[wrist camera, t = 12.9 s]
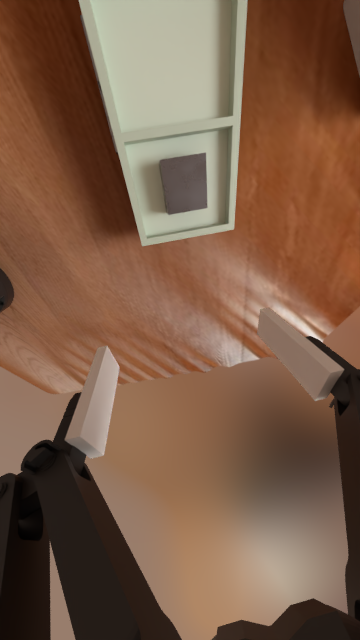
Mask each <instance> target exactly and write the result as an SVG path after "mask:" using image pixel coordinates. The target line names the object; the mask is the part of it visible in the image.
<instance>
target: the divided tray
mask: <svg viewBox="0 0 360 640" xmlns="http://www.w3.org/2000/svg"><path fill="white" fill-rule="evenodd" d="M247 2H248V0H79V4H80V8H81V12H82V15H83V19H84V23H85V27H86V31H87V35H88V39H89V42H90V46H91V50H92V54H93V58H94V62H95V66H96V69H97V73H98V77H99V81H100V85H101V89H102V93H103V96H104V100H105V104H106V108H107V112H108V116H109V120H110V124H111V127H112V131H113V135H114V139H115V143H116V147H117V151H118V154H119V158H120V162H121V166H122V170H123V174H124V178H125V181H126V185H127V189H128V193H129V197H130V201H131V205H132V208H133V212H134V216H135V220H136V224H137V228H138V232H139V235H140V239H141V243H142V246H147V245H152V244H158V243H163V242H168V241H174V240H179V239H185V238H190V237H195V236H201V235H206V234H211V233H217V232H222V231H228V230H233V229H234V221H235V204H236V187H237V171H238V154H239V137H240V120H241V103H242V86H243V69H244V53H245V36H246V19H247ZM205 152H206V169H207V206H208V208H205V209H200V210H194V211H188V212H183V213H177V214H171V215H168V214H167V213H166V208H165V201H164V195H163V188H162V182H161V176H160V169H159V161H160V160H162V159H168V158H174V157H181V156H187V155H193V154H199V153H205Z"/></svg>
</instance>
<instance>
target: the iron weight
mask: <svg viewBox="0 0 360 640" xmlns="http://www.w3.org/2000/svg"><path fill="white" fill-rule="evenodd" d="M159 169H160V176H161V182H162V188H163V195H164V201H165V208H166V213H167V214H168V215H171V214H177V213H183V212H188V211H194V210H200V209H205V208H208V206H207V169H206V152H205V153H199V154H193V155H187V156H181V157H174V158H168V159H162V160H160V161H159Z"/></svg>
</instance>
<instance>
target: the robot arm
mask: <svg viewBox="0 0 360 640" xmlns="http://www.w3.org/2000/svg"><path fill="white" fill-rule="evenodd" d="M13 297H14V291H13V287H12V284H11V282H10V280H9V279H8V277H7V276H6V274H5V273H4V272H3V271H2V270H1V269H0V312H2V311H3V310H5V309H6V308H8V307H9V306H10V304H11V303H12V301H13ZM257 334H258V336H259V337H260V338H261V339H262V340H263V341H264V343H265V344H266V345H267V346H268V347H269V348H270V349H271V351H272V352H273V353H274V354H275V355H276V356H277V358H278V359H279V360H280V361H281V362H282V363H283V364H284V366H285V367H286V368H287V369H288V370H289V371H290V372H291V374H292V375H293V376H294V377H295V378H296V379H297V381H298V382H299V383H300V384H301V385H302V386H303V387H304V389H305V390H306V391H307V392H308V393H309V394H310V396H311V397H312V398H313V399H314V400H315V401H317V400H320V399H324V398H327V397H328V395H329V394H330V392H331V393H332V394H333V395H334V396H335V397H334V399H333V400H332V402H331V404H330V406H329V407H331V408H332V407H333V405H334V409H335V419H336V429H337V439H338V450H339V459H340V470H341V480H342V490H343V501H344V511H345V521H346V531H347V541H348V554H349V556H348V562H347V565H346V572H345V582H346V594H347V606H348V614H346V613H344V612H342V611H340V610H338V609H336V608H333V607H331V606H329V605H325V604H323V603H321V602H320V601H318V600H316V599H310V600H307V601H303V602H300V603H297V604H293V605H290V606H289V607H288V608H287V609H286V611H285V612H284V613H283V614H282V615H281V616H280V617H279V618H278V619H277V620H276V621H275V622H274V623H273V624H272V625H271V626H265V625H261V624H256V623H252V622H248V621H244V620H240V621H236V622H233V623H230V624H226V625H223V626H220V627H218V629H217V635H216V636H215V637H214V638H213V639H212V640H360V370H359V369H356V368H355V367H353V366H352V365H351V364H349V363H348V362H347V361H346V360H344V359H343V358H342V357H340V356H339V355H338V354H336V353H335V352H334V351H332V350H331V349H330V348H329V347H326V345H325V344H323V343H322V342H321V341H320V340H318V339H316V338H313V337H311V336H308V337H304V336H303V335H302V334H301V333H299V332H298V331H297V330H296V329H295V328H293V327H292V326H291V325H290V324H288V323H287V322H286V321H285V320H284V319H282V318H281V317H280V316H279V315H278V314H276V313H275V312H274V311H273V310H271V309H270V308H264V309H260V315H259V323H258V331H257ZM119 368H120V367H119V365H118V364H117V362H116V360H115V358H114V357H113V355H112V353H111V352H110V350H109V348H108V346H103V347H99V348H98V349H97V351H96V354H95V357H94V360H93V363H92V365H91V368H90V371H89V374H88V376H87V379H86V382H85V385H84V387H83V390H82V392H80V393H76V394H75V395H74V396H73V398H72V399H71V400H70V402H69V404H68V406H67V408H66V412H65V413H64V416H63V419H62V421H61V423H60V426H59V428H58V431H57V433H56V436H55V438H54V440H53V442H52V441H50V440H43V441H41V442H39V443H37V444H36V445H34V446H33V447H32V448H31V450H30V451H29V452H28V453H27V454H26V456H25V457H24V459H23V461H22V464H21V471H23V472H21V473H20V474H18V475H15V474H13V473H8V474H5V475H3V476H1V477H0V640H50V549H49V548H50V544H49V543H50V542H51V546H52V550H53V554H54V558H55V562H56V566H57V570H58V573H59V577H60V581H61V585H62V589H63V593H64V597H65V600H66V604H67V608H68V612H69V615H70V620H71V624H72V628H73V631H74V635H75V639H76V640H182V639H181V638H180V636H179V634H178V632H177V630H176V628H175V627H174V625H173V623H172V622H171V621H170V619H169V618H168V617H167V616H166V615H165V614H164V613H163V611H162V610H161V608H160V606H159V605H158V603H157V601H156V599H155V597H154V595H153V593H152V591H151V589H150V587H149V585H148V583H147V581H146V579H145V577H144V575H143V573H142V571H141V570H140V568H139V566H138V564H137V562H136V560H135V558H134V556H133V554H132V552H131V550H130V548H129V546H128V544H127V543H126V540H125V538H124V537H123V535H122V533H121V531H120V529H119V527H118V525H117V523H116V521H115V519H114V517H113V515H112V513H111V511H110V510H109V507H108V505H107V503H106V502H105V500H104V498H103V496H102V494H101V492H100V490H99V488H98V486H97V484H96V482H95V480H94V478H93V476H92V474H91V473H90V471H89V469H88V467H87V465H86V464H85V463H84V462H85V458H86V456H88V457H89V458H91V459H92V458H96V457H99V456H103V455H104V452H105V446H106V441H107V435H108V429H109V424H110V418H111V412H112V407H113V401H114V396H115V390H116V385H117V379H118V374H119Z"/></svg>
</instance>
